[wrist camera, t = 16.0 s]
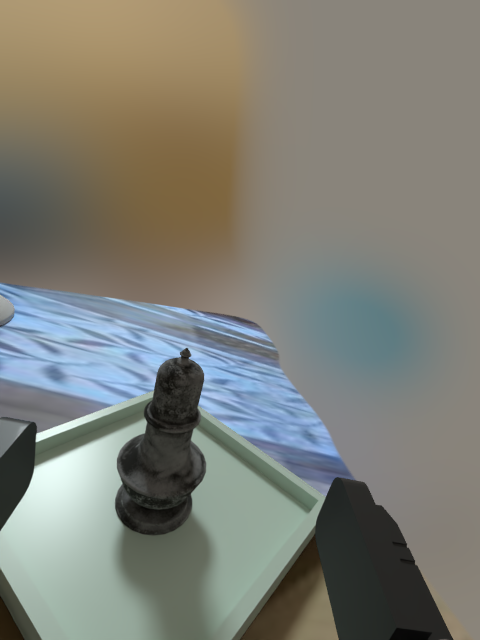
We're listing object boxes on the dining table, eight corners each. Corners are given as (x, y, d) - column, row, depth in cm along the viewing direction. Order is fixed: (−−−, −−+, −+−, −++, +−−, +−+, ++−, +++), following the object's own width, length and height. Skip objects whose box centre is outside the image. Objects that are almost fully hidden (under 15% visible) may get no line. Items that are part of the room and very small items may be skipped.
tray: (118, 810, 13) (126, 783, 13) (-57, 493, 23) (-58, 468, 22) (324, 520, 28) (332, 501, 27) (165, 401, 38) (169, 384, 37)
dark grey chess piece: (212, 502, 26) (253, 357, 22) (151, 559, 21) (190, 386, 17) (156, 457, 29) (184, 321, 25) (91, 498, 24) (112, 337, 20)
